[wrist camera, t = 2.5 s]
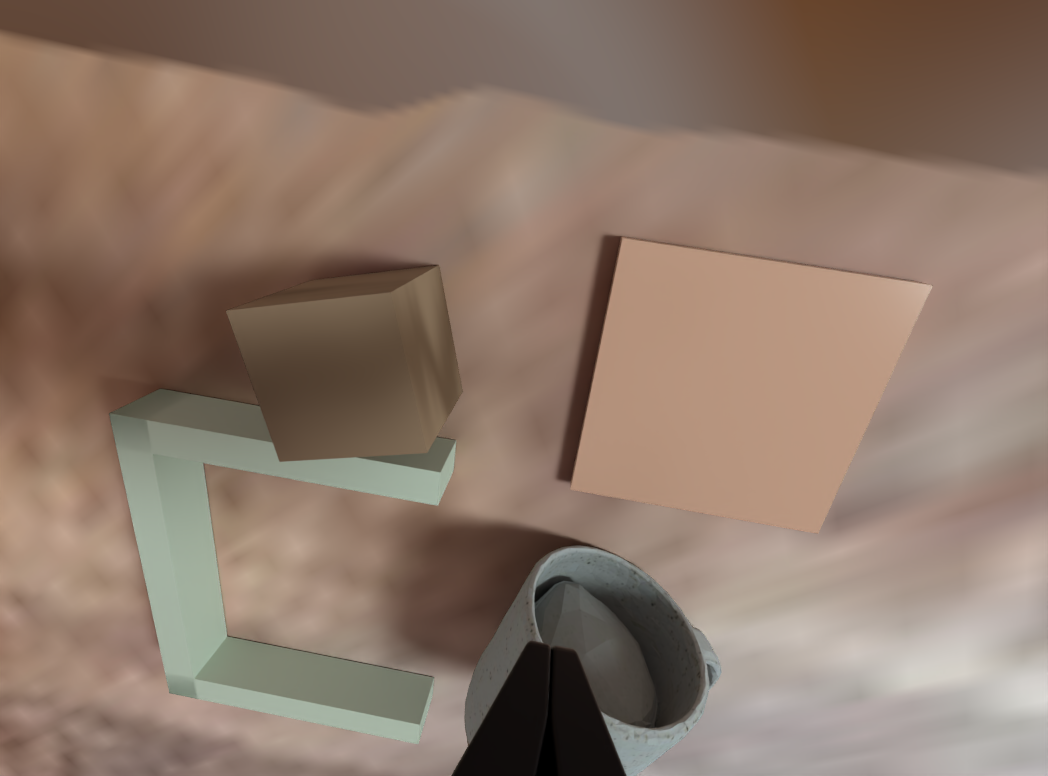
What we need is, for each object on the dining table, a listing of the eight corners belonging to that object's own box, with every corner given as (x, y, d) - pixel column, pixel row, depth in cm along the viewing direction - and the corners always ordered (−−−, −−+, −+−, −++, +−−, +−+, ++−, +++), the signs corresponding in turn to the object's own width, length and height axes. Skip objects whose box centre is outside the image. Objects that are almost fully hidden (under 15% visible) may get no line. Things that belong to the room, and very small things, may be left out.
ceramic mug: (471, 637, 25) (430, 818, 18) (535, 518, 22) (517, 681, 15) (659, 709, 26) (692, 909, 19) (748, 605, 22) (828, 799, 15)
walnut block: (463, 390, 20) (427, 453, 15) (347, 399, 21) (279, 461, 16) (439, 264, 18) (390, 292, 13) (313, 279, 19) (225, 310, 14)
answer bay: (432, 696, 27) (418, 743, 25) (204, 650, 27) (169, 693, 25) (456, 440, 21) (440, 472, 18) (160, 388, 21) (108, 413, 19)
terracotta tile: (811, 524, 20) (817, 533, 20) (570, 481, 21) (570, 489, 20) (920, 282, 16) (932, 285, 16) (621, 236, 17) (622, 238, 16)
